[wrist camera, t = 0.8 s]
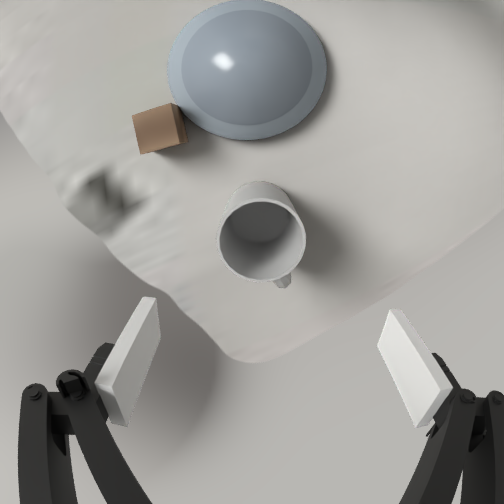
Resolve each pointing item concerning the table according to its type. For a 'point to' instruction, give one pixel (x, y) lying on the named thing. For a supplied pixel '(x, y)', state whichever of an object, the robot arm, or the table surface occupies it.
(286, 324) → the table surface
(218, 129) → the dish
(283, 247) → the cup
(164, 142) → the walnut block
